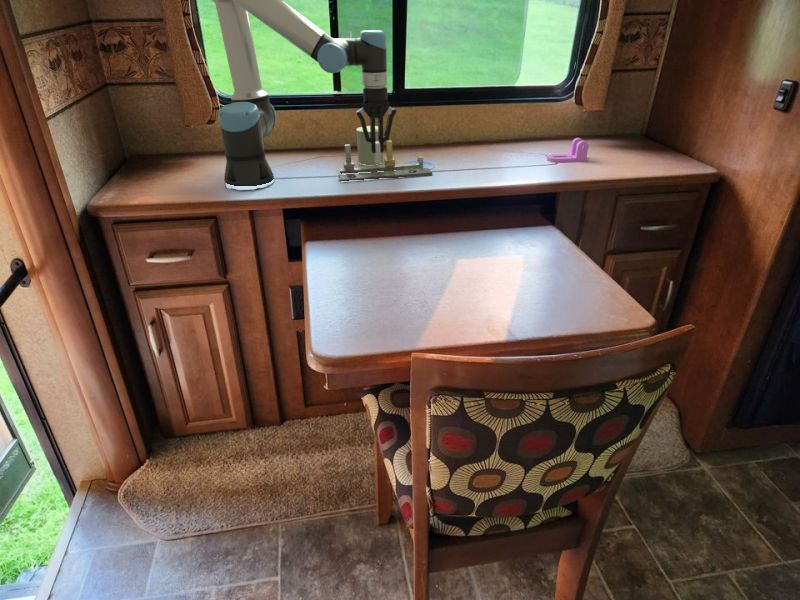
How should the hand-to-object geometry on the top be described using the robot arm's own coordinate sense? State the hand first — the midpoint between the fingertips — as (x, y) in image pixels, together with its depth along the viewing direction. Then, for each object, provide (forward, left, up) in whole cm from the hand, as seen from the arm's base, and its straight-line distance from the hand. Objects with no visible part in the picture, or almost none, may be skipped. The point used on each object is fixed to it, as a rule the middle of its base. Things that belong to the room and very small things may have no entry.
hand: (377, 162), depth 172 cm
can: (0, +11, -3) cm, 12 cm away
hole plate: (+1, -6, -3) cm, 7 cm away
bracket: (+66, -4, -3) cm, 67 cm away
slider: (+4, 0, -1) cm, 4 cm away
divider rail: (+1, 0, -3) cm, 3 cm away
